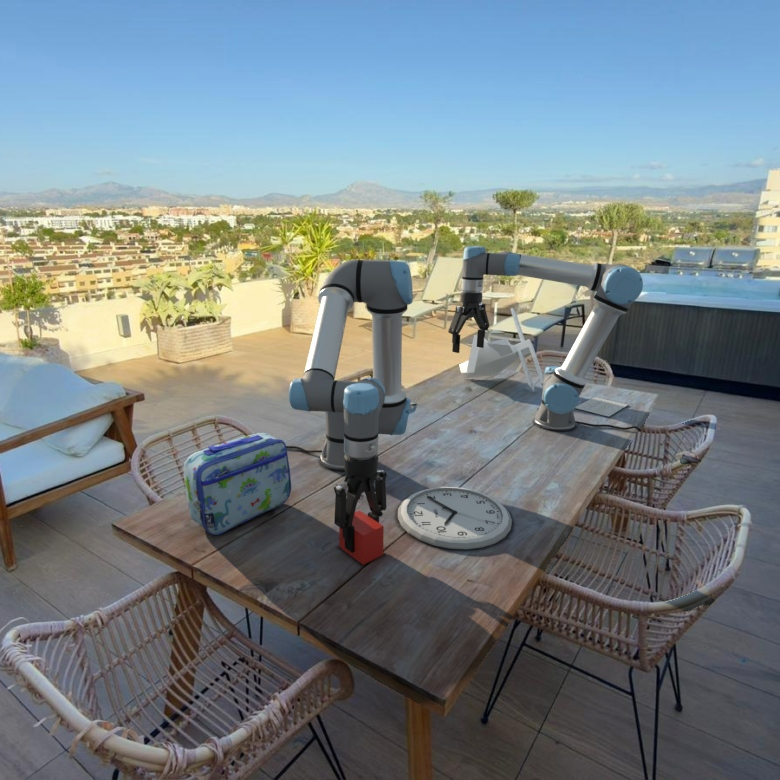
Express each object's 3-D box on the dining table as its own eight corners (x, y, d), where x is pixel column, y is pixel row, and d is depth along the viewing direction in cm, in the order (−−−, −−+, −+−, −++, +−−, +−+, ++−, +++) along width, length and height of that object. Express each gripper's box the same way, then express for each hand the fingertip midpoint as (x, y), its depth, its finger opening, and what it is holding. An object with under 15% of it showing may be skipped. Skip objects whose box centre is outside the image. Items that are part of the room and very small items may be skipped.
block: (339, 547, 124) (339, 518, 122) (359, 537, 128) (359, 510, 126) (363, 565, 118) (363, 535, 116) (383, 554, 122) (383, 525, 119)
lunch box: (204, 544, 124) (196, 463, 118) (184, 526, 131) (176, 449, 125) (295, 506, 142) (292, 434, 136) (274, 491, 149) (270, 423, 143)
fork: (400, 412, 215) (400, 407, 215) (412, 400, 229) (412, 396, 229) (406, 412, 214) (406, 408, 214) (418, 401, 229) (418, 397, 228)
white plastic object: (480, 420, 263) (459, 397, 239) (461, 347, 286) (440, 319, 261) (551, 396, 251) (537, 369, 226) (526, 322, 273) (511, 290, 249)
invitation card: (608, 416, 214) (573, 407, 224) (608, 416, 214) (573, 408, 224) (628, 404, 229) (594, 396, 238) (628, 405, 229) (594, 397, 238)
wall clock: (528, 541, 125) (404, 545, 122) (528, 547, 125) (404, 551, 123) (494, 482, 153) (392, 485, 151) (494, 487, 154) (392, 490, 151)
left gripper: (336, 471, 107) (337, 568, 114) (404, 447, 119) (401, 536, 126) (315, 459, 112) (318, 552, 119) (382, 438, 124) (381, 523, 131)
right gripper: (456, 295, 175) (452, 356, 182) (501, 290, 191) (497, 346, 198) (440, 292, 181) (437, 352, 187) (485, 288, 197) (481, 343, 203)
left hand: (361, 543), depth 122 cm, fingers closed on block, 6 cm apart
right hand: (468, 349), depth 192 cm, fingers open, 13 cm apart
